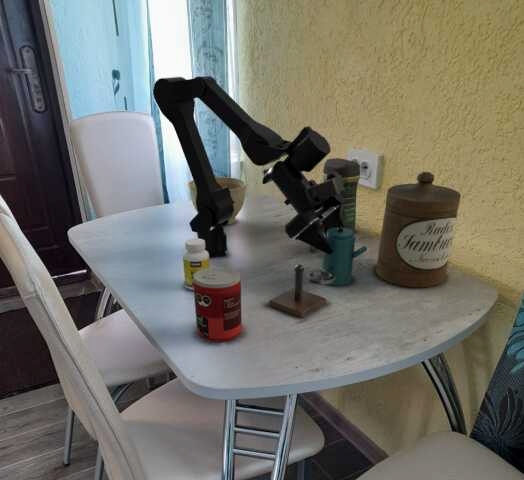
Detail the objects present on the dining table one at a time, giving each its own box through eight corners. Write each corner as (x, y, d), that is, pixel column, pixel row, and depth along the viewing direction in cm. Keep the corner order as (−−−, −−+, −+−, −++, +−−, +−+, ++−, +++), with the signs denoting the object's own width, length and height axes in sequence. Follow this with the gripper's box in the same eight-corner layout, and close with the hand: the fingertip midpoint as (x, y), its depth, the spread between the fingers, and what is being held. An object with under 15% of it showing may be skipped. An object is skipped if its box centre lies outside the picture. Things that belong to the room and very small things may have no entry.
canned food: (197, 323, 93) (193, 267, 87) (240, 321, 94) (239, 265, 88) (196, 344, 86) (191, 285, 81) (242, 342, 87) (241, 283, 81)
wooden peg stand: (294, 292, 104) (295, 254, 100) (326, 303, 100) (329, 263, 95) (269, 305, 99) (269, 265, 95) (301, 318, 95) (303, 276, 90)
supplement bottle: (190, 293, 104) (186, 247, 99) (181, 283, 108) (177, 239, 103) (214, 288, 106) (212, 243, 101) (205, 278, 110) (202, 235, 105)
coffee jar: (359, 231, 138) (367, 160, 128) (338, 237, 134) (344, 164, 124) (336, 223, 144) (341, 154, 135) (314, 228, 141) (318, 158, 131)
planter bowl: (245, 230, 139) (245, 190, 133) (187, 230, 139) (184, 189, 133) (248, 213, 152) (247, 176, 147) (194, 213, 153) (192, 176, 147)
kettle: (299, 296, 103) (301, 240, 96) (328, 271, 114) (332, 220, 108) (341, 307, 99) (347, 249, 93) (367, 280, 110) (374, 227, 104)
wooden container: (401, 292, 104) (418, 183, 93) (363, 267, 116) (374, 167, 105) (459, 282, 109) (482, 177, 98) (417, 258, 121) (433, 162, 109)
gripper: (300, 169, 93) (352, 237, 94) (339, 152, 106) (384, 212, 107) (263, 206, 100) (311, 269, 101) (304, 186, 114) (346, 241, 115)
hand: (340, 246), depth 106 cm, fingers open, 9 cm apart
